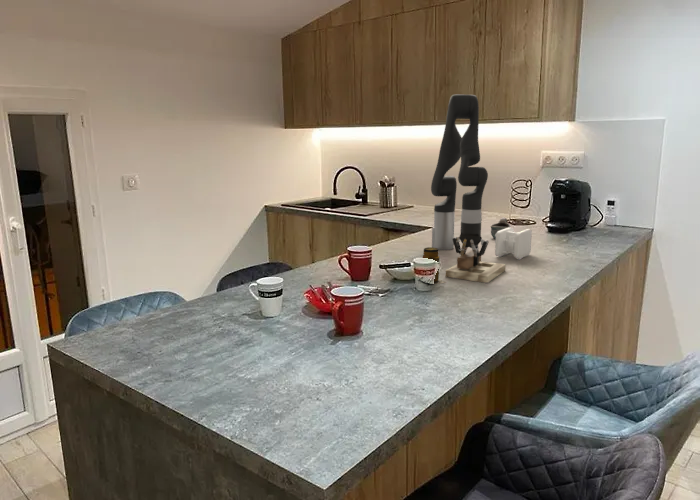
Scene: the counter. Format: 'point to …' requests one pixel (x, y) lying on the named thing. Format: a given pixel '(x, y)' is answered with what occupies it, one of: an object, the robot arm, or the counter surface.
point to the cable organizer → (513, 242)
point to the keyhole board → (477, 272)
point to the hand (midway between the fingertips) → (469, 265)
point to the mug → (499, 226)
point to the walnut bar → (466, 260)
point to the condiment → (433, 254)
